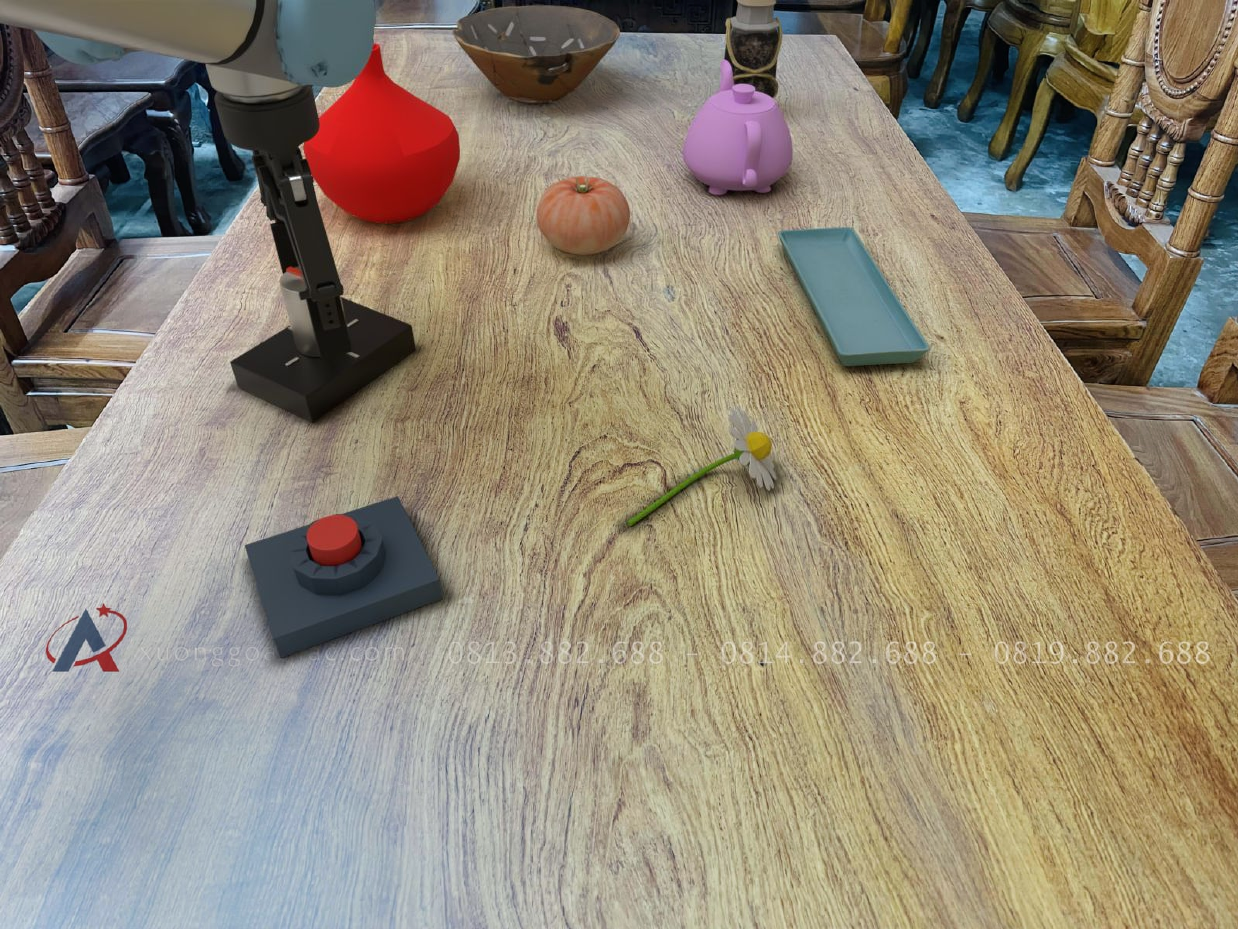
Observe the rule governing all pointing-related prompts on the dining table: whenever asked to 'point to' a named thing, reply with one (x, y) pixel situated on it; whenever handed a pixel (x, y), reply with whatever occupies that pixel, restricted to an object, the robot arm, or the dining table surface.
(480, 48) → the bowl
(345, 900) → the dining table surface
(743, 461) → the decorative flower
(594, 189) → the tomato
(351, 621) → the button box
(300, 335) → the knob
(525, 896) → the dining table surface
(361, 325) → the panel
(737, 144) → the teapot
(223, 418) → the dining table surface
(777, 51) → the lantern
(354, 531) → the button
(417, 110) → the vase
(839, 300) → the rectangular tray
